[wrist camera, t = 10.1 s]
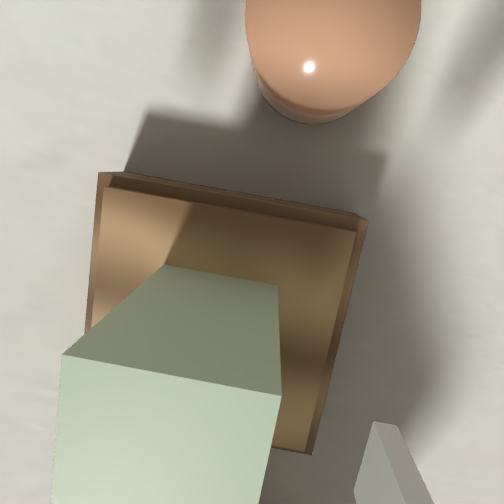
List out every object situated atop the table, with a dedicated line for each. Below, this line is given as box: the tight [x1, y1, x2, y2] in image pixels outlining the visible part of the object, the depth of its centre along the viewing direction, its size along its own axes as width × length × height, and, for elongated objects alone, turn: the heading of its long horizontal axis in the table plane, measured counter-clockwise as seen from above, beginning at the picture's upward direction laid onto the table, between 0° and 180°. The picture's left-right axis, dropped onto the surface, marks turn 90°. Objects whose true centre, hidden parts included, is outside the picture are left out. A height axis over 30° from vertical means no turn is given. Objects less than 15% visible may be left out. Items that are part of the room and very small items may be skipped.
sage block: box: [51, 264, 282, 504], centre depth 16 cm, size 6×6×10 cm
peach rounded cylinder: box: [245, 0, 421, 124], centre depth 19 cm, size 7×7×6 cm
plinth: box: [84, 172, 368, 455], centre depth 23 cm, size 14×14×4 cm
